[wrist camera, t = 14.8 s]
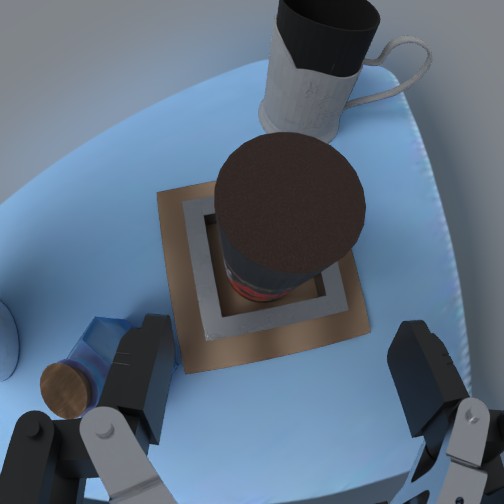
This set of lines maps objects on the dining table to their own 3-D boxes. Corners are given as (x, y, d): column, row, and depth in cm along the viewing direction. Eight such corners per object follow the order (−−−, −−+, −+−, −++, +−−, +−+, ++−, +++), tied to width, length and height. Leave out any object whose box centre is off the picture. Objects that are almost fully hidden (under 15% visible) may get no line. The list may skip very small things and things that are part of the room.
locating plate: (187, 372, 25) (180, 379, 22) (159, 196, 29) (149, 180, 25) (366, 332, 27) (383, 332, 23) (323, 169, 30) (332, 151, 27)
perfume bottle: (124, 319, 26) (52, 311, 14) (178, 365, 25) (135, 391, 14) (88, 369, 25) (7, 387, 13) (139, 415, 24) (80, 464, 12)
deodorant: (211, 261, 26) (182, 184, 12) (266, 219, 27) (297, 110, 13) (256, 318, 26) (284, 309, 11) (311, 272, 27) (392, 211, 12)
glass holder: (261, 82, 32) (273, -28, 18) (379, 102, 33) (431, 11, 18) (255, 144, 30) (268, 23, 16) (388, 164, 31) (462, 74, 16)
